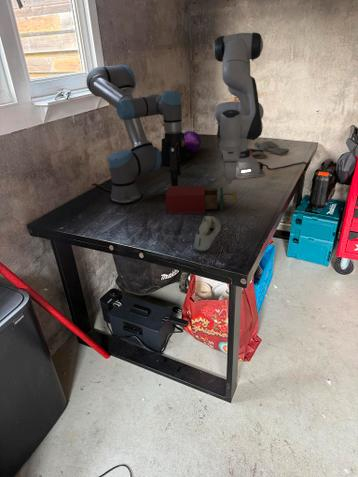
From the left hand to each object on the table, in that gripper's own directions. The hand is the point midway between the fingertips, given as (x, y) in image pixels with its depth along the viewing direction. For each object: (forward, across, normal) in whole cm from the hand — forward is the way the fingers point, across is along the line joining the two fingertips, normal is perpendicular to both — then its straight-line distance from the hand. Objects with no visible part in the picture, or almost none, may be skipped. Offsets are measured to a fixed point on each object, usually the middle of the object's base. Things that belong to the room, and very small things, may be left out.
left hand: (176, 180), depth 147 cm
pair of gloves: (+14, -88, +49) cm, 101 cm away
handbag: (+14, -72, -9) cm, 74 cm away
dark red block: (+14, 0, +4) cm, 14 cm away
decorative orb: (+14, -92, +1) cm, 94 cm away
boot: (+14, -115, +24) cm, 119 cm away
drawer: (+13, 0, +16) cm, 20 cm away
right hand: (+2, 0, +24) cm, 24 cm away
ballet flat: (+14, +27, +14) cm, 34 cm away
